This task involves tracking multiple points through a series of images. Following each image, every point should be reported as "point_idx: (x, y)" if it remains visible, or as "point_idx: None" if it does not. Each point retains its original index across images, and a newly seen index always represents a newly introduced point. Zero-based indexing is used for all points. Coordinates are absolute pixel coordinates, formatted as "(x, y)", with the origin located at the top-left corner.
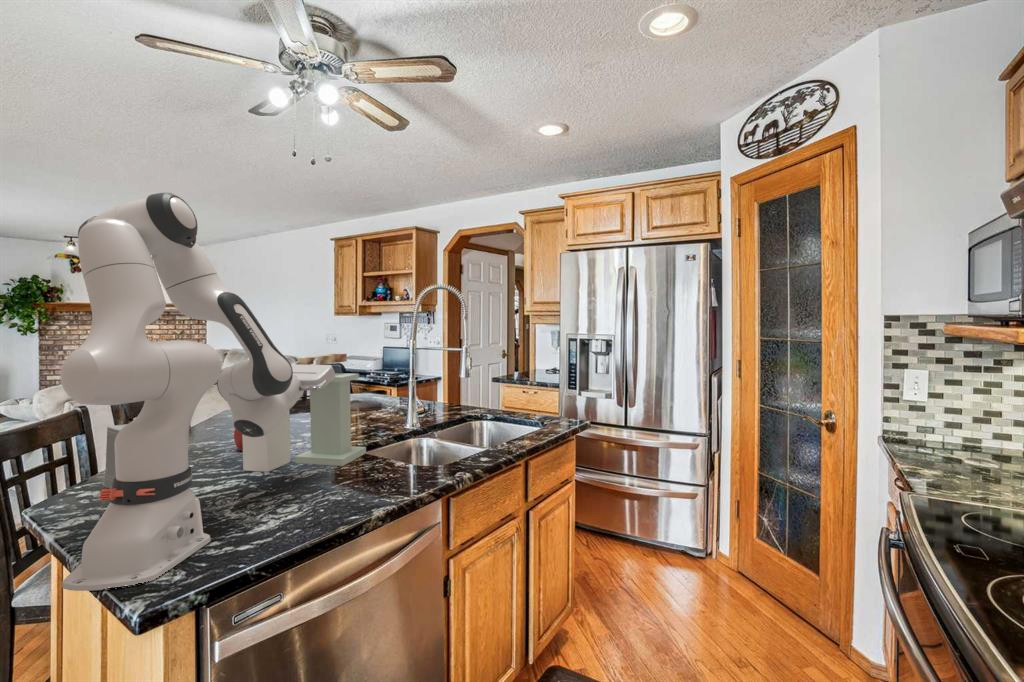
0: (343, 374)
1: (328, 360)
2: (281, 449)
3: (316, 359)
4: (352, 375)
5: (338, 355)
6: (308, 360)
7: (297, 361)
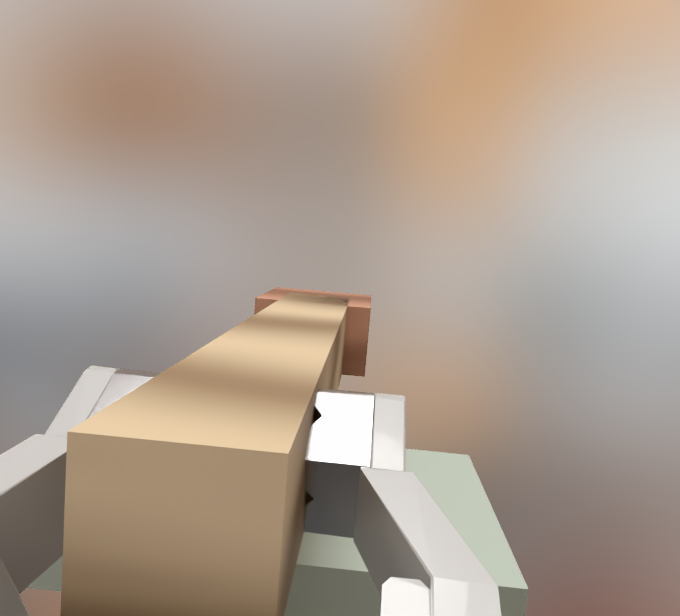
0: None
1: (337, 371)
2: None
3: (400, 433)
4: (484, 496)
5: (369, 313)
6: (297, 480)
7: (15, 457)
